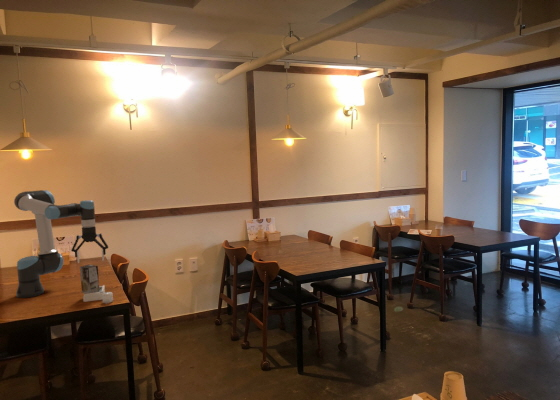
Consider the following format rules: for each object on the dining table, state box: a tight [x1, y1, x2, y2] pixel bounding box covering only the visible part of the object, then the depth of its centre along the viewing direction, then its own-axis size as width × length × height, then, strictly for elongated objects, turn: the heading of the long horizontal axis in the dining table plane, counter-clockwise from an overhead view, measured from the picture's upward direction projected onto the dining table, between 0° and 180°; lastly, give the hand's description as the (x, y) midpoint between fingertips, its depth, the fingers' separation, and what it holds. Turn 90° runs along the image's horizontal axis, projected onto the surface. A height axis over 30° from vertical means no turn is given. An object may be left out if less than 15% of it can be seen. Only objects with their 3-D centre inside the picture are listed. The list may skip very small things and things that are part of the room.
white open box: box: [82, 284, 106, 303], centre depth 260 cm, size 11×14×5 cm
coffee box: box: [79, 264, 100, 294], centre depth 259 cm, size 9×6×16 cm
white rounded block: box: [101, 291, 114, 304], centre depth 251 cm, size 6×6×5 cm
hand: (91, 261), depth 259 cm, fingers open, 13 cm apart
